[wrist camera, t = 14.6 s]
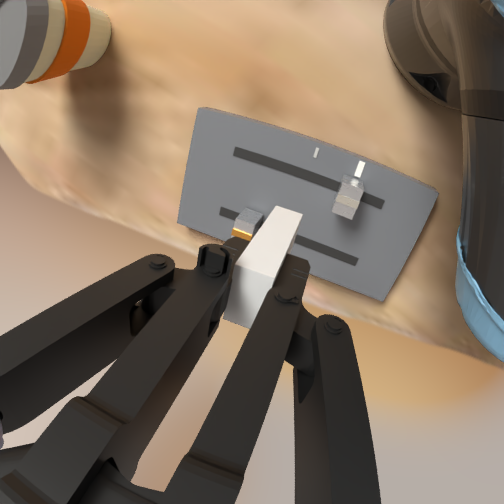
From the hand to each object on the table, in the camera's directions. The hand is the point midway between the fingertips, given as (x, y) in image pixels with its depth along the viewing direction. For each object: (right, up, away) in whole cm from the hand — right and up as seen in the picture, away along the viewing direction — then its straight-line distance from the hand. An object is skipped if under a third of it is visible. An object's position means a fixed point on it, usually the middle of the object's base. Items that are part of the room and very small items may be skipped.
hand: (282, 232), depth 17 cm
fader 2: (+8, +5, +13) cm, 16 cm away
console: (+4, +4, +17) cm, 18 cm away
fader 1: (-2, +2, +17) cm, 17 cm away
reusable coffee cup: (-24, +28, +14) cm, 40 cm away
